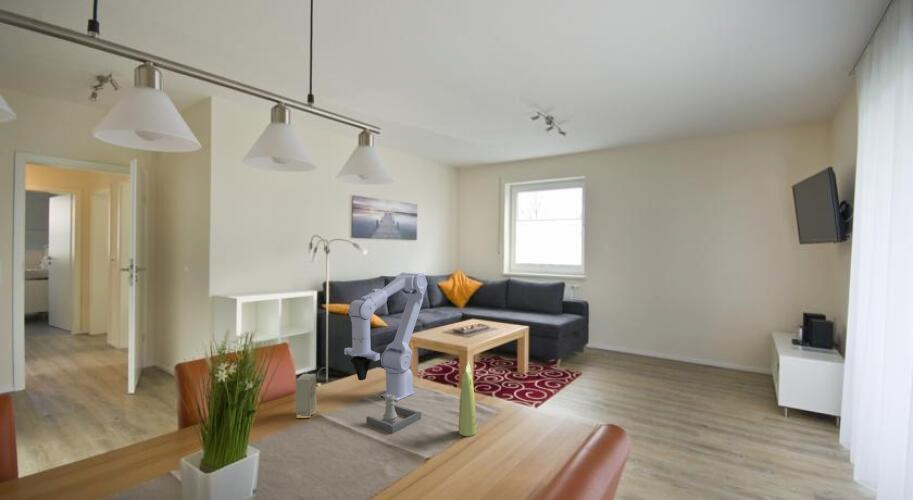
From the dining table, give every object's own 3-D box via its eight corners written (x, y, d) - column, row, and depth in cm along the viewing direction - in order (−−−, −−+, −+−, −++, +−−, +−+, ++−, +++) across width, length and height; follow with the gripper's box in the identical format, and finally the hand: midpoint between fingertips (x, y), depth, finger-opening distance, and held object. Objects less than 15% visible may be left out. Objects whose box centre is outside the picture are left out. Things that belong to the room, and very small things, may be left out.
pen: (394, 410, 135) (394, 404, 135) (421, 418, 129) (421, 412, 129) (365, 424, 125) (365, 417, 125) (392, 433, 119) (392, 426, 119)
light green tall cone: (481, 434, 118) (480, 365, 117) (466, 439, 115) (465, 368, 114) (469, 427, 122) (468, 360, 122) (454, 431, 119) (454, 363, 119)
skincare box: (309, 419, 129) (309, 379, 129) (295, 419, 129) (294, 379, 129) (317, 410, 136) (316, 373, 135) (303, 410, 136) (302, 373, 135)
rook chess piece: (392, 416, 130) (391, 391, 130) (400, 420, 127) (400, 394, 127) (379, 420, 127) (379, 394, 127) (388, 425, 124) (387, 398, 124)
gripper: (336, 337, 136) (337, 378, 136) (368, 342, 128) (368, 387, 128) (353, 333, 142) (354, 373, 142) (384, 338, 134) (385, 380, 134)
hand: (362, 379), depth 136 cm, fingers closed
